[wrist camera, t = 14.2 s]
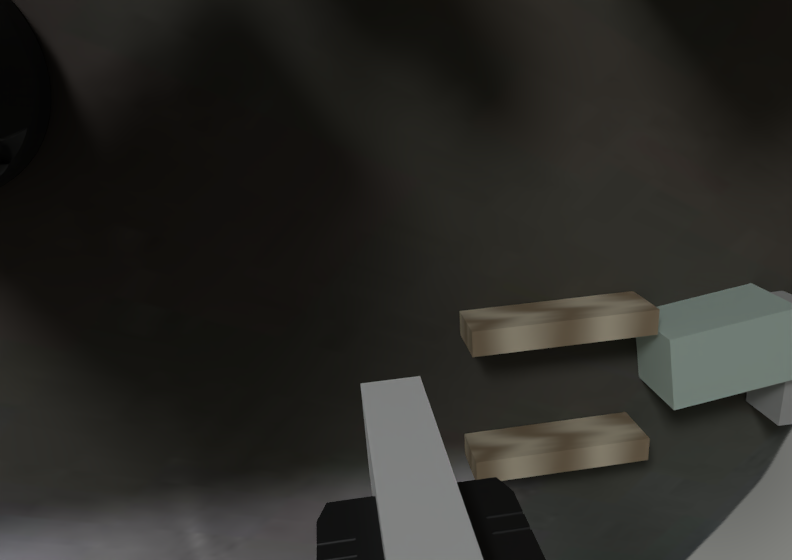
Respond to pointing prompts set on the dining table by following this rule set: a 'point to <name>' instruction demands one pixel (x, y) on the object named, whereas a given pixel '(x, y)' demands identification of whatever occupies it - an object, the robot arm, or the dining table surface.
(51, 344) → the dining table surface
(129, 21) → the dining table surface
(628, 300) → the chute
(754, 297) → the block
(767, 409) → the grey rectangular bar
